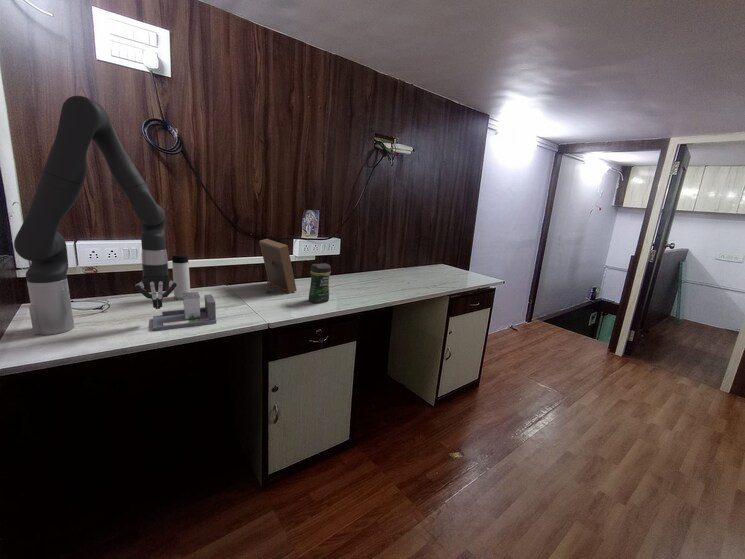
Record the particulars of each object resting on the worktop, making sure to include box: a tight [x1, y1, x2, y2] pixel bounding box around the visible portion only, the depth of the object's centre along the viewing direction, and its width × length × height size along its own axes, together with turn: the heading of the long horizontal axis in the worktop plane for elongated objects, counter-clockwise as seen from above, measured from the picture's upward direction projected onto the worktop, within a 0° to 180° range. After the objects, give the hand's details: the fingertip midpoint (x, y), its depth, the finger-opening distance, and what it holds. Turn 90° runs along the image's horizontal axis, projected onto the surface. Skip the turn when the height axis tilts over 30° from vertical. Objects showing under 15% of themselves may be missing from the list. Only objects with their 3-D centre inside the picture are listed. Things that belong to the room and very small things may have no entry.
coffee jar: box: [308, 262, 332, 304], centre depth 159 cm, size 10×8×19 cm
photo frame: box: [258, 238, 297, 294], centre depth 170 cm, size 15×22×25 cm
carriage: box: [182, 291, 201, 320], centre depth 123 cm, size 5×9×9 cm, turn 33°
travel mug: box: [171, 254, 191, 301], centre depth 145 cm, size 6×7×20 cm
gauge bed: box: [152, 294, 217, 332], centre depth 123 cm, size 20×12×8 cm, turn 123°
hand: (158, 308), depth 119 cm, fingers closed
